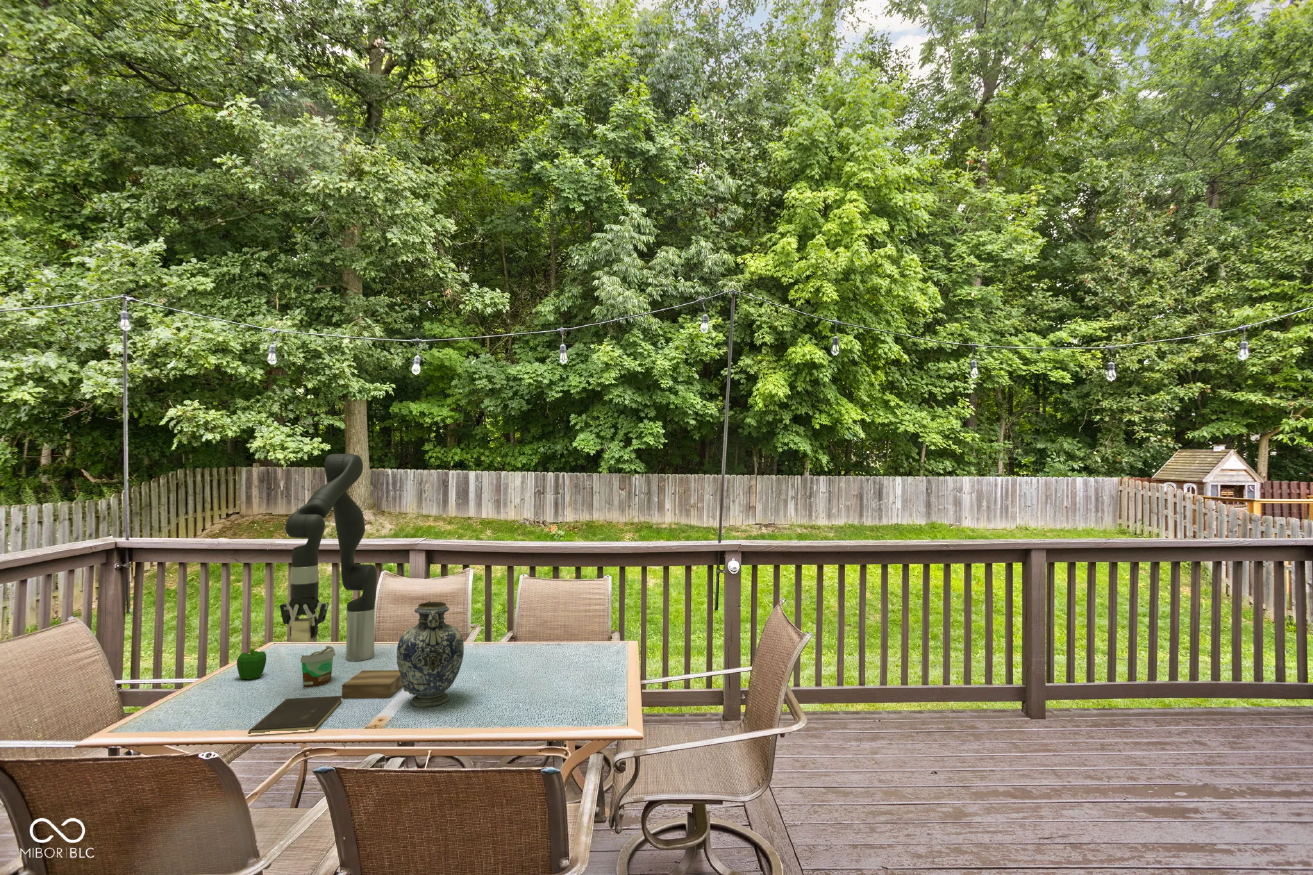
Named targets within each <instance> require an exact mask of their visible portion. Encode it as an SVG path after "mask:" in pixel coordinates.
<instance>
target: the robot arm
mask: <svg viewBox="0 0 1313 875" xmlns="http://www.w3.org/2000/svg"><path fill="white" fill-rule="evenodd" d="M363 463H364V462H363V460H362V458H361V456H360V455H359V454H354V453H353V454H352V453H332V454H329V455H327V456H326V458H325V461H324V474H325V478H326V482H327V483H326V484H324V485H322V486H320V487H319V488H318V489H317V490H315V491H314V492H313V494H312V495H311V496H310V498H309V499H308V501H307V502H306V503H305V504H304V505H302V506H301V507H299V508H297V510H296V511H294V512H293V513H291V515H290V516H289V517H288V518H287V520H286V522H285V524H284V525H285V528H284V530H285V533H286V534H287V535H288V537H290V538H295V539H300V538H301V539H307V540H306V543H305V544H302V545H298V546H295V547H293V549H292V551H291V570H290V579H289V581H290V592H289V593H290V596H289V597H290V600H289V602H284V603H282V604H280V605H279V610H280V615H281V618H282V623H283V624H284V625H288V626H289V635H290V636H289V637H291V622H292V621H295V620H297V619H299V618H301V616H306V618H308V619H309V620H310V621H311V625H312V626H311V638H315V637H316V638H317V636H318V635H319V625H320V624H322V623H323V622H325V620H326V616H327V613H328V610H329V605H330V603H329V602H323V601H322V602H321V601H320V599H319V586H320V585H319V583H320V582H319V572H320V571H319V549H320V546H321V542H322V538H323V536H324V532H325V529H326V523H325V518H326V517H327V516H328V514H329V513H330V511H331V510H332V509H333V517H334V524H335V530H336V531H335V532H336V534H337V535H336V537H337V540H338V546H339V555H340V569H341V570H340V571H341V572H340V574H341V583H342V585H343V588H344V589H345V590H346V591H362V593H361V596H360V597H358V598H356V599H355V598H354V599H352V600H350V601H348V602H347V604H346V634H345V635H346V636H345V637H346V638H345V639H346V640H345V641H346V643H345V644H346V645H345V653H346V654H345V657H346V658H345V660H347V661H349V662H359V661H365V660H370V659H372V658H374V657H375V627H376V626H375V625H376V624H375V621H376V620H375V616H376V614H375V613H376V612H375V609H376V608H375V607H376V605H375V604H376V598H377V581H378V571H377V568H376V566H375V565H374V564H371V563H370V564H367V563H366V564H363V563H362V564H359V563H357V564H356V563H355V552H356V550H357V548H358V546H359V544H360V542H361V541H362V539H363V537H364V536H365V533H366V524H365V517H364V513H363V510H362V509H361V508H360V506H359V505H358V504H357V503H356V502H355V500H354V499H353V498H352V497H351V496H350V494H349V493H348V492H347V490H349V489H350V488H351V487H352V485H354V484H355V483H356V482H357V481H358V480H359V479H360V477H361V476H362V473H363V469H364V464H363ZM317 608H318V610H319V611H318V613H317V610H316V609H317ZM290 609H291V610H292V612H291V613H290ZM316 638H315V639H316Z"/></svg>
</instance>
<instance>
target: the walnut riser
mask: <svg viewBox="0 0 1313 875" xmlns="http://www.w3.org/2000/svg"><path fill="white" fill-rule="evenodd" d="M401 679H402V677H401V675H400V672H399V669H395V670H394V669H387V670H386V669H384V670H383V669H382V670H381V669H380V670H375V669H374V670H371V669H369V670H366V669H365V670H361V671H360V672H358V673H357V674H355V675H354V676H352V677H351V678H350V679H348V680H347V681H344V683H343V684H342V685H341V696H343V697H342V698H341V699H343V700H345V699H390V698H392V696H393V695H395V694H396V693H397V692H398V691H399V690H400V689H402V688H403V683H401Z"/></svg>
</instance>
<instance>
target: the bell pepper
mask: <svg viewBox="0 0 1313 875" xmlns="http://www.w3.org/2000/svg"><path fill="white" fill-rule="evenodd" d="M266 664H267V653H266V651H265V650H263V651H257V650H256V649H255V648H254V647H251V648H250V651H249V653H248V652H241V653H240V654H239V656H237V659H236V669H237V672H238V675H239V678H240V679H241V680H249V681H250V680H255V679H258V678H261V676H262V675H263V673H264V670H265V667H266Z"/></svg>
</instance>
